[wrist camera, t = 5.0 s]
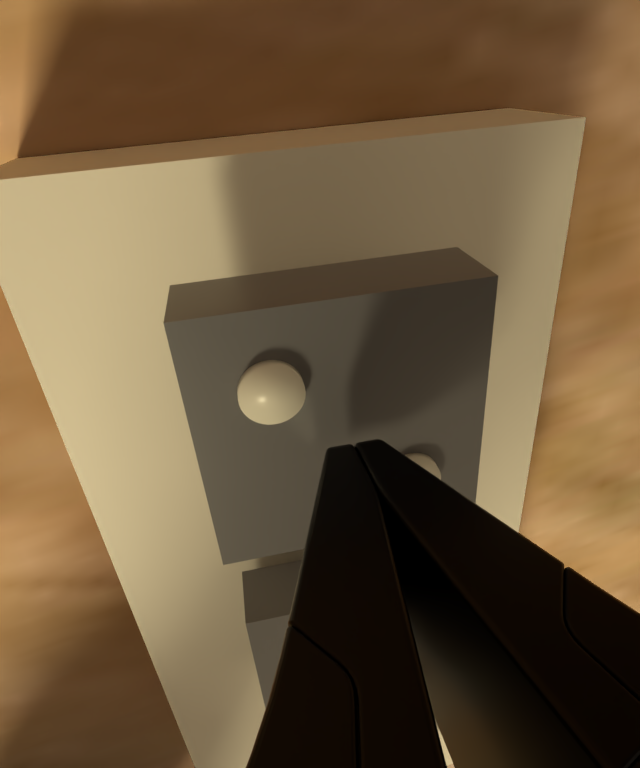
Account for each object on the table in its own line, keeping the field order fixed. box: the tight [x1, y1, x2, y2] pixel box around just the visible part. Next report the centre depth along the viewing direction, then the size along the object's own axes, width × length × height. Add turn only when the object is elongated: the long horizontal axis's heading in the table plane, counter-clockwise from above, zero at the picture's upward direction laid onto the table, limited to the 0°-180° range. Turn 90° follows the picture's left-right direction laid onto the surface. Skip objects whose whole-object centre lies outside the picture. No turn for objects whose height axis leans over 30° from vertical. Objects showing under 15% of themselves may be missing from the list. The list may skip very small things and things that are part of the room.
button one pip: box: [242, 560, 302, 708], centre depth 14 cm, size 5×5×2 cm
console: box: [0, 108, 586, 768], centre depth 17 cm, size 24×11×3 cm, turn 4°
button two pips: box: [163, 247, 498, 565], centre depth 9 cm, size 5×5×2 cm
